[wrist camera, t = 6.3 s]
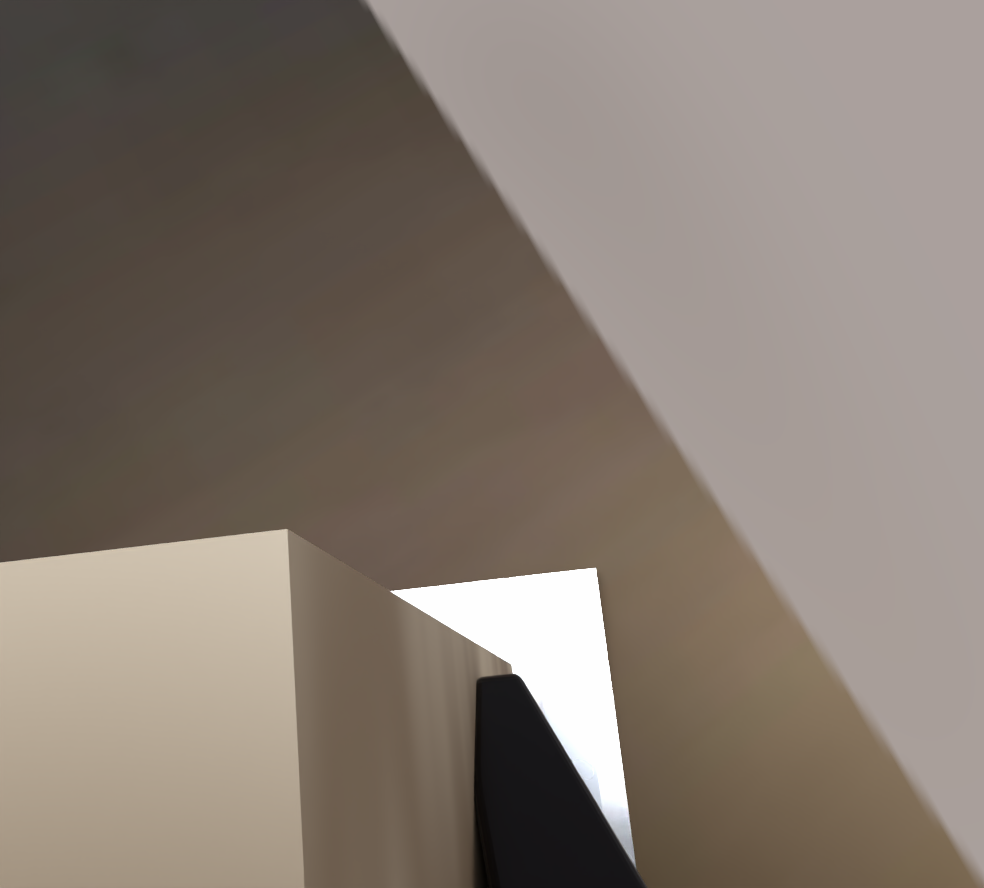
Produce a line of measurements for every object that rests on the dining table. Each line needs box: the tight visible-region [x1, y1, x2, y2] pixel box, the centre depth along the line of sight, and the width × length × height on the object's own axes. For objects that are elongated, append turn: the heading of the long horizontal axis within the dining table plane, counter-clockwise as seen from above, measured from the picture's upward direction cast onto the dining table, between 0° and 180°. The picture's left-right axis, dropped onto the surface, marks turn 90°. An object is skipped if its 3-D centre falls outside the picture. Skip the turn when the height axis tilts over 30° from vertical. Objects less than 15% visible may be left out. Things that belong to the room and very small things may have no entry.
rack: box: [391, 568, 636, 868], centre depth 18 cm, size 8×6×4 cm
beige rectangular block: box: [0, 529, 513, 888], centre depth 8 cm, size 4×2×13 cm, turn 6°
